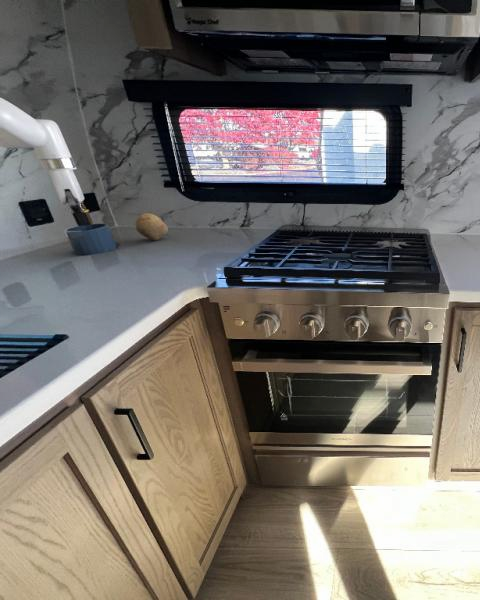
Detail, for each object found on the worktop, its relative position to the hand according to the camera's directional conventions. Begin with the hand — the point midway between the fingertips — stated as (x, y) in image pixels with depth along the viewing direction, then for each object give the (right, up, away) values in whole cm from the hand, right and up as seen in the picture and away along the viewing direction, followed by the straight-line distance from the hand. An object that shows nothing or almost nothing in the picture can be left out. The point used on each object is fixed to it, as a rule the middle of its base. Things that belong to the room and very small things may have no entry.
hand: (85, 223), depth 110 cm
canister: (0, -8, +4) cm, 9 cm away
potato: (+13, -3, +14) cm, 20 cm away
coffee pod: (0, 0, 0) cm, 0 cm away
